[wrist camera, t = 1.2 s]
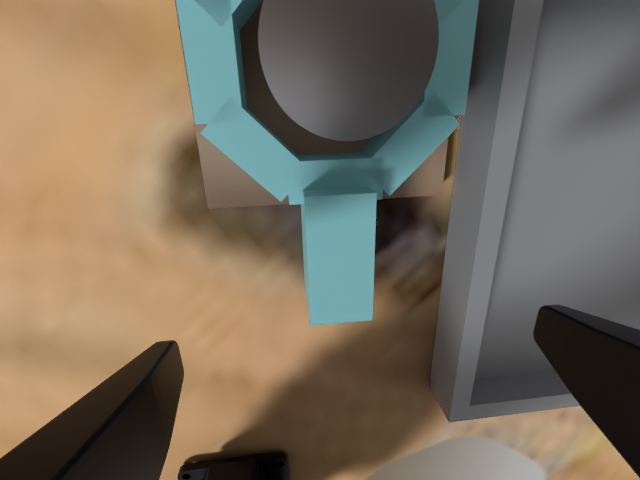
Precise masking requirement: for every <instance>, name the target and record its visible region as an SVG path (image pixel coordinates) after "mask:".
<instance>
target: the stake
mask: <svg viewBox="0 0 640 480" xmlns="http://www.w3.org/2000/svg"><path fill="white" fill-rule="evenodd" d="M175 4H176V0H175ZM176 10H177V5H176ZM177 16H178V11H177ZM178 23H179V18H178ZM179 29H180V24H179ZM180 35H181V30H180ZM240 39H241V49H242V59H243V69H244V79H245V88H246V98H247V108H248V109H249V110H250V111H251V112H252V113H253V114H254V115H255V116H256V117H257V118H258V119H259V120H261V121H262V122H263V123H264V124H265V125H266V126H267V127H268V128H269V129H270V130H271V131H272V132H273V133H274V134H276V135H277V136H278V137H279V138H280V139H281V140H282V141H283V142H284V143H285V144H286V145H287V146H288V147H290V148H291V149H292V150H293V151H294V152H295V153H296V154H297V155H299V154H322V153H345V152H359V151H360V150H361V149H362V148H363V147H364V145H365V144H366V143H367V142H368V141H369V140H370V139H371V138H372V137H374V136H376V135H379V134H381V133H383V132H385V131H387V130H389V129H390V128H392V127H393V126H395V125H396V124H397V123H399V122H400V121H401V120H402V119H403V118H404V117H405V116H407V115H408V114H409V113H410V111H411V110H412V109H413V108H414V107H415V105H416V104H417V103H418V101H419V100H420V98H421V96H422V95H423V93H424V91H425V89H426V87H427V85H428V83H429V81H430V78H431V76H432V73H433V70H434V66H435V62H436V58H437V51H438V43H439V27H438V16H437V11H436V6H435V2H434V0H263V1H262V2H261V4H260V5H259V6H258V8H257V9H256V10H255V12H254V13H253V14H252V15H251V17H250V18H249V19H248V21H247V22H246V23H245V25H244V26H243V27H242V29H241V30H240ZM181 41H182V37H181ZM182 48H183V43H182ZM183 54H184V49H183ZM184 60H185V56H184ZM185 67H186V62H185ZM186 73H187V68H186ZM187 79H188V75H187ZM188 86H189V81H188ZM189 92H190V87H189ZM190 98H191V94H190ZM191 104H192V100H191ZM192 111H193V106H192ZM193 117H194V113H193ZM194 123H195V119H194ZM207 125H208V124H195V130H196V136H197V142H198V149H199V155H200V161H201V168H202V174H203V180H204V186H205V193H206V199H207V205H208V209H211V208H229V207H246V206H263V205H281V204H289V197H288V195H287V196H286V197H285V198H284V199H283V201H282V202H280V201H279V200H278V199H277V198H276V197H275V196H273V195H272V194H271V193H270V192H269V191H268V190H266V189H265V188H264V187H263V186H262V185H261V184H259V183H258V182H257V181H256V180H255V179H253V178H252V177H251V176H250V175H249V174H248V173H246V172H245V171H244V170H243V169H242V168H241V167H239V166H238V165H237V164H236V163H235V162H233V161H232V160H231V159H230V158H229V157H228V156H226V155H225V154H224V153H223V152H222V151H221V150H219V149H218V148H217V147H216V146H215V145H214V144H212V143H211V142H210V141H209V140H208V139H206V138H205V137H204V136H203V135H202V134H201V132H202V131H203V130H204V128H205V127H206V126H207ZM447 145H448V137H447V138H446V139H445V140H444V142H443V143H442V144H441V145H440V146H439V147H438V148H437V149H436V150H435V151H434V152H433V153H432V154H431V155H430V156H429V157H428V158H427V159H426V160H425V161H424V162H423V163H422V164H421V165H420V166H419V167H418V168H417V169H416V170H415V171H414V172H413V173H412V174H411V175H410V176H409V177H408V178H407V179H406V180H405V181H404V182H403V183H402V184H401V185H400V186H399V187H398V188H397V189H396V190H395V191H394V192H393V193H392V194H391V195H390V196H389V195H388V194H387V193H385V192H384V191H383V193H382V199H386V198H403V197H421V196H438V195H442V191H443V182H444V173H445V164H446V154H447Z"/></svg>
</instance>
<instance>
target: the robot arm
mask: <svg viewBox="0 0 640 480" xmlns="http://www.w3.org/2000/svg"><path fill="white" fill-rule="evenodd" d="M533 337H534V340H535V342H536V344H537V345H538V347H539V348H540V350H541V351H542V352H543V354H544V355H545V357H546V358H547V360H548V361H549V363H550V364H551V365H552V367H553V368H554V370H555V371H556V373H557V374H558V376H559V377H560V378H561V380H562V381H563V383H564V384H565V386H566V387H567V389H568V390H569V391H570V393H571V394H572V395H573V397H574V398H575V399H576V401H577V402H578V403H579V404H580V406H581V407H582V408H583V409H584V411H585V412H586V413H587V414H588V415H589V417H590V418H591V419H592V420H593V422H594V423H595V424H596V425H597V426H598V428H599V429H600V430H601V431H602V433H603V434H604V435H605V436H606V437H607V439H608V440H609V441H610V442H611V444H612V445H613V446H614V447H615V448H616V450H617V451H618V452H619V453H620V455H621V456H622V457H623V458H624V459H625V461H626V462H627V463H628V464H629V465H630V467H631V468H632V469H633V470H634V472H635V473H636V474H637V475H638V476H639V478H640V330H639V329H635V328H632V327H629V326H626V325H623V324H620V323H616V322H613V321H610V320H607V319H604V318H601V317H597V316H594V315H591V314H588V313H585V312H582V311H578V310H575V309H572V308H569V307H566V306H563V305H558V304H554V305H544V306H542V307H541V308H540V309H539V311H538V314H537V318H536V322H535V327H534V331H533ZM183 378H184V369H183V364H182V360H181V355H180V351H179V346H178V344H177V342H176V341H174V340H170V341H160V342H156V343H155V344H153V345H152V346H151V347H149V348H148V349H147V350H145V351H144V352H142V353H141V354H140V355H138V356H137V357H136V358H134V359H133V360H132V361H130V362H129V363H128V364H126V365H125V366H124V367H122V368H121V369H120V370H118V371H117V372H116V373H114V374H113V375H112V376H110V377H109V378H108V379H106V380H105V381H104V382H102V383H101V384H100V385H98V386H97V387H96V388H94V389H93V390H91V391H90V392H89V393H87V394H86V395H85V396H83V397H82V398H81V399H79V400H78V401H77V402H75V403H74V404H73V405H71V406H70V407H69V408H67V409H66V410H65V411H63V412H62V413H61V414H59V415H58V416H57V417H55V418H54V419H53V420H51V421H50V422H48V423H47V424H46V425H44V426H43V427H42V428H40V429H39V430H38V431H36V432H35V433H34V434H32V435H31V436H30V437H28V438H27V439H26V440H24V441H23V442H22V443H20V444H19V445H18V446H16V447H15V448H14V449H12V450H11V451H10V452H8V453H7V454H5V455H4V456H3V457H1V458H0V480H159V478H160V475H161V472H162V469H163V466H164V463H165V459H166V456H167V453H168V449H169V446H170V441H171V437H172V432H173V427H174V422H175V417H176V413H177V408H178V403H179V398H180V393H181V388H182V383H183ZM178 480H290V471H289V460H288V455H287V454H286V453H283V452H278V453H270V454H262V455H254V456H247V457H239V458H231V459H223V460H215V461H208V462H200V463H192V464H186V465H183V466H181V467H180V469H179V473H178Z"/></svg>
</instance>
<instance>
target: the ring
mask: <svg viewBox="0 0 640 480" xmlns="http://www.w3.org/2000/svg"><path fill="white" fill-rule="evenodd" d="M262 1H263V0H176V5H177V11H178V18H179V24H180V30H181V37H182V43H183V49H184V56H185V62H186V68H187V75H188V81H189V87H190V94H191V100H192V106H193V113H194V119H195V124H208V125H207V126H206V127H205V128H204V130H203V131H202V132H201V134H202V135H203V136H204V137H205V138H206V139H208V140H209V141H210V142H211V143H212V144H214V145H215V146H216V147H217V148H218V149H219V150H221V151H222V152H223V153H224V154H225V155H226V156H228V157H229V158H230V159H231V160H232V161H233V162H235V163H236V164H237V165H238V166H239V167H241V168H242V169H243V170H244V171H245V172H246V173H248V174H249V175H250V176H251V177H252V178H253V179H255V180H256V181H257V182H258V183H259V184H261V185H262V186H263V187H264V188H265V189H266V190H268V191H269V192H270V193H271V194H272V195H273V196H275V197H276V198H277V199H278V200H279V201H280V202H282V201H283V199H284V198H285V197H286V196H287V195H288V197H289V205H294V204H301V218H302V237H303V257H304V276H305V290H306V297H307V304H308V311H309V318H310V325H311V326H314V325H325V324H336V323H347V322H357V321H368V320H372V319H373V289H374V260H375V231H376V202H377V200H381V199H382V193H383V191H384V192H385V193H387V194H388V195H389V196H390V195H391V194H392V193H393V192H394V191H395V190H396V189H397V188H398V187H399V186H400V185H401V184H402V183H403V182H404V181H405V180H406V179H407V178H408V177H409V176H410V175H411V174H412V173H413V172H414V171H415V170H416V169H417V168H418V167H419V166H420V165H421V164H422V163H423V162H424V161H425V160H426V159H427V158H428V157H429V156H430V155H431V154H432V153H433V152H434V151H435V150H436V149H437V148H438V147H439V146H440V145H441V144H442V143H443V142H444V140H445V139H446V138H447V137H448V136H449V135H450V134H451V133H452V132H453V131H454V130H455V129H456V128H457V127H458V126H459V125H460V122H459V121H458V120H457V119H456V117H455V116H458V115H465V111H466V103H467V95H468V87H469V79H470V71H471V62H472V54H473V46H474V38H475V30H476V22H477V14H478V5H479V0H434V2H435V6H436V11H437V16H438V27H439V43H438V51H437V58H436V62H435V66H434V70H433V73H432V76H431V78H430V81H429V83H428V85H427V87H426V89H425V91H424V93H423V95H422V96H421V98H420V100H419V101H418V103H417V104H416V105H415V107H414V108H413V109H412V110H411V111H410V113H409V114H408V115H407V116H405V117H404V118H403V119H402V120H401V121H400V122H399V123H397V124H396V125H395V126H393V127H392V128H390V129H389V130H387V131H385V132H383V133H381V134H379V135H376V136H374V137H372V138H371V139H370V140H369V141H368V142H367V143H366V144H365V145H364V147H363V148H362V149H361V150H360V151H359V152H345V153H322V154H299V155H297V154H296V153H295V152H294V151H293V150H292V149H291V148H290V147H288V146H287V145H286V144H285V143H284V142H283V141H282V140H281V139H280V138H279V137H278V136H277V135H276V134H274V133H273V132H272V131H271V130H270V129H269V128H268V127H267V126H266V125H265V124H264V123H263V122H262V121H261V120H259V119H258V118H257V117H256V116H255V115H254V114H253V113H252V112H251V111H250V110H249V109H248V108H247V98H246V88H245V79H244V69H243V59H242V49H241V39H240V30H241V29H242V27H243V26H244V25H245V23H246V22H247V21H248V19H249V18H250V17H251V15H252V14H253V13H254V12H255V10H256V9H257V8H258V6H259V5H260V4H261V2H262Z"/></svg>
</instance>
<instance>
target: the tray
mask: <svg viewBox="0 0 640 480" xmlns="http://www.w3.org/2000/svg"><path fill="white" fill-rule="evenodd" d="M554 304H558V305H563V306H566V307H569V308H572V309H575V310H578V311H582V312H585V313H588V314H591V315H594V316H597V317H601V318H604V319H607V320H610V321H613V322H616V323H620V324H623V325H626V326H629V327H632V328H635V329H639V330H640V0H479V5H478V14H477V22H476V30H475V38H474V46H473V54H472V62H471V71H470V79H469V87H468V95H467V103H466V111H465V115H462V116H461V124H460V132H459V141H458V149H457V158H456V166H455V174H454V183H453V191H452V199H451V208H450V216H449V225H448V233H447V241H446V250H445V258H444V266H443V275H442V283H441V292H440V300H439V308H438V317H437V325H436V333H435V342H434V350H433V358H432V367H431V375H430V384H429V387H430V388H431V390H432V392H433V394H434V396H435V397H436V399H437V401H438V403H439V405H440V407H441V408H442V410H443V412H444V414H445V416H446V418H447V419H448V421H449V422H455V421H463V420H471V419H479V418H487V417H495V416H503V415H511V414H519V413H527V412H535V411H543V410H551V409H558V408H566V407H574V406H580V404H579V403H578V402H577V401H576V399H575V398H574V397H573V395H572V394H571V393H570V391H569V390H568V389H567V387H566V386H565V384H564V383H563V381H562V380H561V378H560V377H559V376H558V374H557V373H556V371H555V370H554V368H553V367H552V365H551V364H550V363H549V361H548V360H547V358H546V357H545V355H544V354H543V352H542V351H541V350H540V348H539V347H538V345H537V344H536V342H535V340H534V337H533V331H534V327H535V322H536V318H537V314H538V311H539V309H540V308H541V307H542V306H544V305H554Z"/></svg>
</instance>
